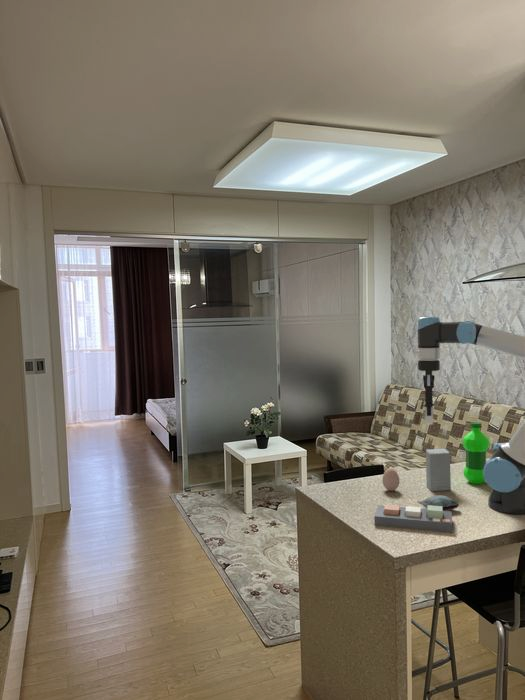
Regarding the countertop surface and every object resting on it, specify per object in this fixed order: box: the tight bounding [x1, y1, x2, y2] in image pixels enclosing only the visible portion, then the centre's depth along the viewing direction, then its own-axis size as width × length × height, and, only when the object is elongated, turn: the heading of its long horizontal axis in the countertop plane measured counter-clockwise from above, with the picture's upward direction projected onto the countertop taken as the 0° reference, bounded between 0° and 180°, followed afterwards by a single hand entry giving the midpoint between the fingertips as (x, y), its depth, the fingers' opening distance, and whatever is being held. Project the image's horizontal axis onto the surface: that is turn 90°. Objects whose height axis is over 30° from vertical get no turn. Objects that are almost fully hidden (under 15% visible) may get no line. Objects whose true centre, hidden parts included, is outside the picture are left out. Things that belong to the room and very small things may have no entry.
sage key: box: [426, 505, 443, 519], centre depth 177 cm, size 5×5×4 cm
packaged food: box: [417, 494, 460, 511], centre depth 191 cm, size 9×12×5 cm
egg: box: [381, 467, 400, 492], centre depth 212 cm, size 7×7×9 cm
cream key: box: [405, 505, 422, 517], centre depth 179 cm, size 5×5×4 cm
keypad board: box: [373, 504, 453, 533], centre depth 179 cm, size 25×11×3 cm, turn 72°
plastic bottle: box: [462, 421, 490, 485], centre depth 220 cm, size 10×10×25 cm
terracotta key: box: [384, 504, 401, 515], centre depth 181 cm, size 5×5×4 cm
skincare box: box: [425, 448, 452, 492], centre depth 213 cm, size 8×7×16 cm
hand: (429, 424), depth 193 cm, fingers closed
